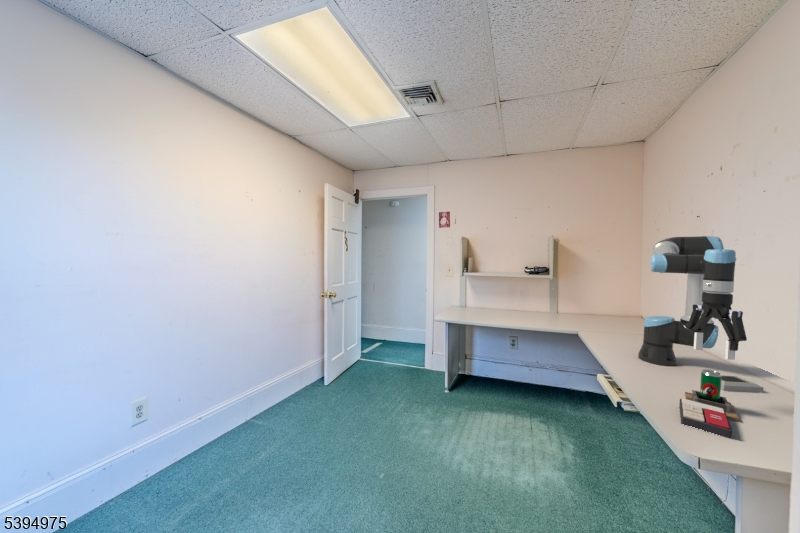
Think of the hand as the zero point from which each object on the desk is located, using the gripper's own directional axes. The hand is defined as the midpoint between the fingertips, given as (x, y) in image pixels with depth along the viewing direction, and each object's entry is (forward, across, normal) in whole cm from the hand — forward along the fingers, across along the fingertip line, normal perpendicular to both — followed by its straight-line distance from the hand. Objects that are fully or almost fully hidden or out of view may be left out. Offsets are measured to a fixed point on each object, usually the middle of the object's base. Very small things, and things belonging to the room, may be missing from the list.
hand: (713, 354), depth 105 cm
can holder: (+20, 0, 0) cm, 20 cm away
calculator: (+20, +9, -13) cm, 25 cm away
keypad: (+20, -15, +29) cm, 39 cm away
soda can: (+19, 0, 0) cm, 19 cm away
